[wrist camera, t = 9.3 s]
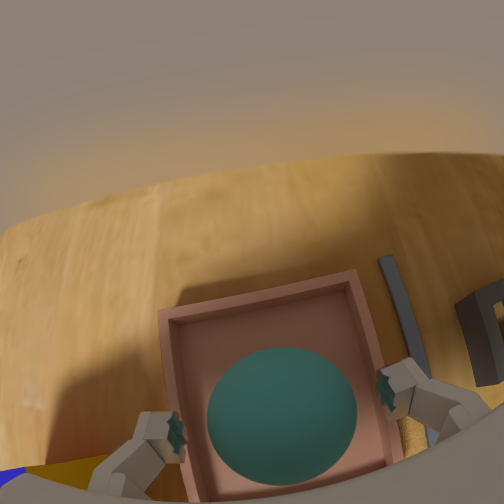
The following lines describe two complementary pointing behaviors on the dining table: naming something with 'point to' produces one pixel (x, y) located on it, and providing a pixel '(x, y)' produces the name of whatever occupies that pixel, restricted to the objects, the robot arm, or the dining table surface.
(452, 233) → the dining table surface
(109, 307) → the dining table surface
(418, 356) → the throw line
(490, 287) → the grey square frame
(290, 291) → the tray
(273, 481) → the ball
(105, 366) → the dining table surface
